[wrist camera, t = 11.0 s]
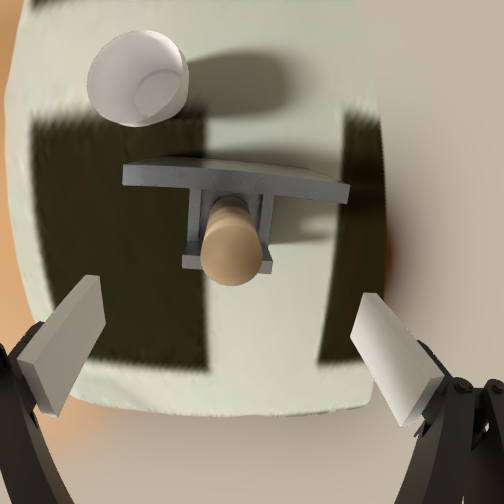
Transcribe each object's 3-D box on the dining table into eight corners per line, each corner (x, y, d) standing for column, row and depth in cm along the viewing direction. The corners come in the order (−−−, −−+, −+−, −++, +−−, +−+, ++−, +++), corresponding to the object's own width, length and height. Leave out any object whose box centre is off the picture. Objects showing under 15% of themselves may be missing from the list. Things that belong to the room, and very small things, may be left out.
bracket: (160, 156, 34) (123, 164, 21) (306, 168, 36) (350, 185, 23) (157, 237, 38) (125, 286, 25) (295, 247, 40) (327, 299, 27)
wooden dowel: (212, 192, 34) (202, 225, 20) (251, 195, 34) (266, 230, 21) (209, 230, 35) (199, 283, 22) (247, 233, 36) (258, 287, 22)
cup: (213, 97, 32) (206, 76, 21) (155, 145, 34) (122, 147, 23) (168, 47, 30) (145, 11, 18) (113, 95, 31) (68, 79, 20)
